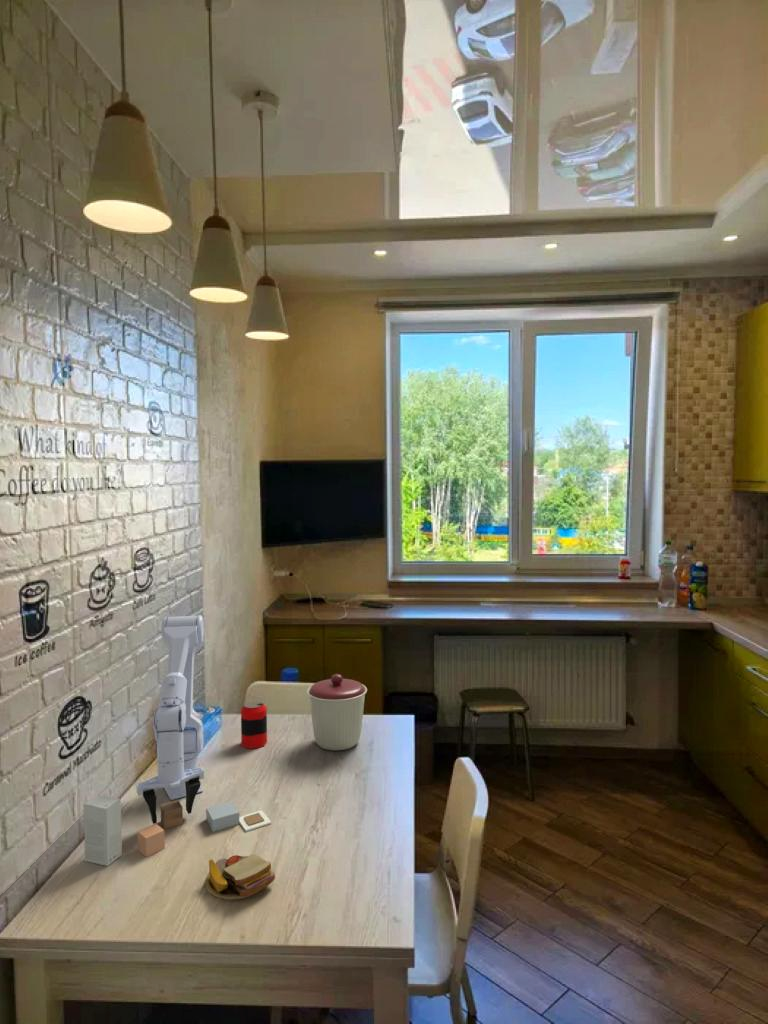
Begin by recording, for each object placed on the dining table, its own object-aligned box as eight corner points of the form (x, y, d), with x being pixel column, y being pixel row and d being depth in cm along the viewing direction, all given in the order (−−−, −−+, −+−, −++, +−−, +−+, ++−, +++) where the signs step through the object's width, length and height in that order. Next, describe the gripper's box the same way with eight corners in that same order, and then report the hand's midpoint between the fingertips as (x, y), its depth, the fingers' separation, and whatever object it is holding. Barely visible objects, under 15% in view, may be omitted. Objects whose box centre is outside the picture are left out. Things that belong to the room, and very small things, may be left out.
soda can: (264, 749, 174) (263, 708, 174) (238, 749, 174) (238, 709, 174) (269, 738, 182) (268, 700, 181) (245, 738, 182) (244, 700, 181)
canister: (315, 730, 188) (315, 664, 187) (371, 733, 185) (371, 666, 184) (300, 755, 170) (299, 682, 169) (361, 758, 167) (361, 685, 166)
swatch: (237, 819, 136) (237, 816, 136) (261, 811, 139) (261, 808, 139) (245, 831, 131) (245, 828, 131) (271, 823, 134) (271, 820, 134)
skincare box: (122, 855, 123) (121, 798, 123) (107, 867, 119) (105, 808, 119) (100, 849, 125) (98, 793, 125) (83, 861, 121) (82, 803, 121)
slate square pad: (206, 820, 136) (206, 807, 136) (232, 813, 139) (231, 800, 139) (213, 833, 131) (212, 819, 131) (239, 825, 134) (239, 812, 134)
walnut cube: (160, 821, 136) (160, 804, 136) (178, 816, 138) (178, 799, 138) (164, 829, 132) (164, 812, 132) (182, 824, 134) (182, 807, 134)
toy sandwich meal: (257, 854, 123) (256, 832, 123) (284, 889, 112) (283, 865, 112) (197, 876, 116) (196, 852, 116) (219, 916, 105) (219, 890, 105)
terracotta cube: (137, 849, 125) (137, 831, 125) (155, 841, 128) (155, 823, 128) (146, 857, 122) (146, 838, 122) (164, 848, 125) (164, 830, 125)
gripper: (140, 773, 127) (141, 834, 128) (207, 756, 135) (208, 814, 136) (134, 760, 133) (135, 819, 134) (199, 745, 141) (200, 801, 142)
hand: (171, 816), depth 135 cm, fingers open, 7 cm apart
